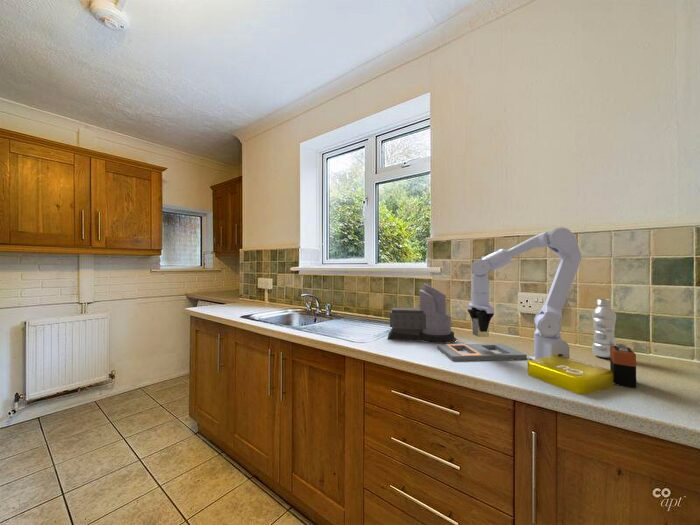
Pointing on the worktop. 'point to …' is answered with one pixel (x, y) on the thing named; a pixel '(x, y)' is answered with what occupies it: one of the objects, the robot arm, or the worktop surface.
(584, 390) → the element tile
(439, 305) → the juicer
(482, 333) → the block
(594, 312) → the plastic bottle
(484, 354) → the rail plate
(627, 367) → the battery
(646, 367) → the worktop surface
